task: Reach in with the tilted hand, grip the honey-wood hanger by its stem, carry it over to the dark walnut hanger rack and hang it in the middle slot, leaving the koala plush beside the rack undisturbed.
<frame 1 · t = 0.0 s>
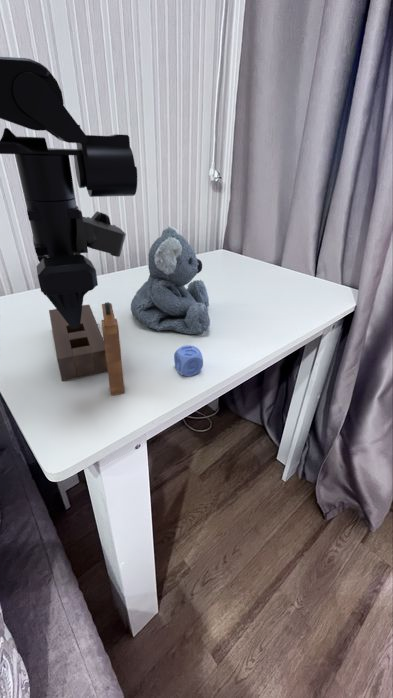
hand: (71, 313, 48), 13 cm above the table, tool pointing down, fingers open, 9 cm apart
rack: (79, 348, 64), on the table
hanger: (117, 390, 54), on the table
decorative dice: (188, 370, 60), on the table
koala plush: (170, 318, 76), on the table
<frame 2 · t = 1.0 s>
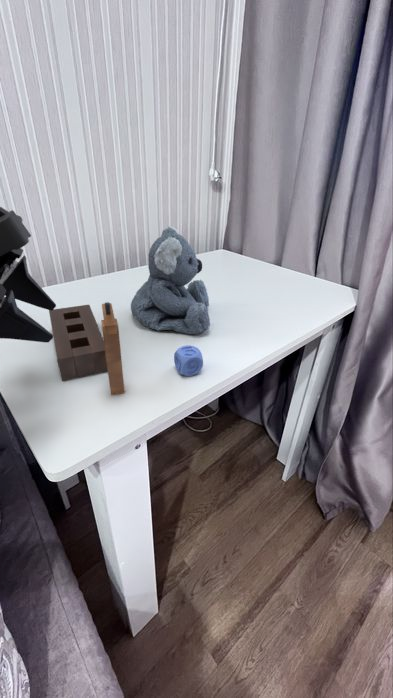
hand: (52, 322, 45), 13 cm above the table, tool tilted 45°, fingers open, 9 cm apart
nothing on the table moved.
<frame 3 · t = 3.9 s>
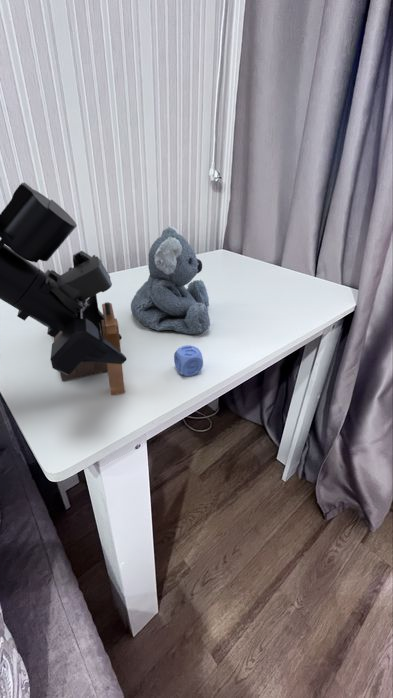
hand: (122, 349, 50), 8 cm above the table, tool tilted 45°, fingers closed on hanger, 6 cm apart
hanger: (117, 389, 54), on the table, touching gripper
everything else where it was.
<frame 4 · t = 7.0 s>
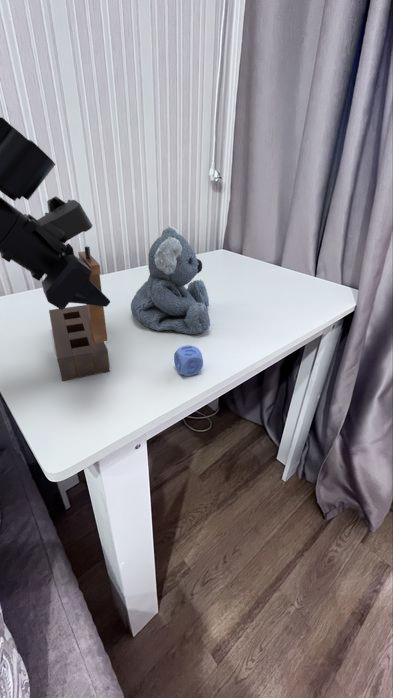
hand: (102, 296, 52), 13 cm above the table, tool tilted 45°, fingers closed on hanger, 6 cm apart
hanger: (99, 339, 56), point 6 cm above the table, touching gripper
everything else where it was.
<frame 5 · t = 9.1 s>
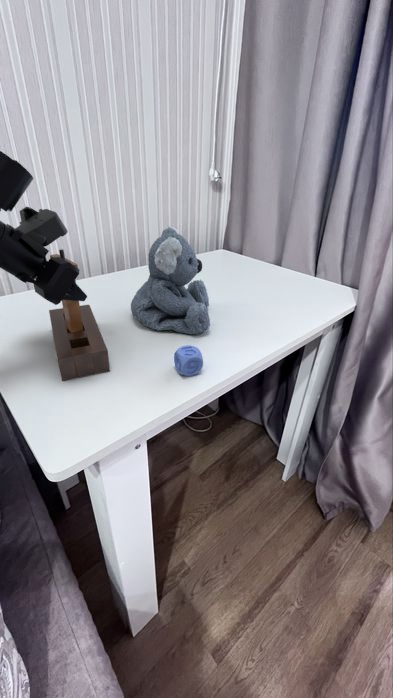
hand: (76, 293, 59), 11 cm above the table, tool tilted 45°, fingers closed on hanger, 6 cm apart
hanger: (75, 332, 62), point 4 cm above the table, touching gripper
everything else where it was.
when the fingers open (8 cm above the table, at t = 10.6 s): hanger stays where it is, resting on rack.
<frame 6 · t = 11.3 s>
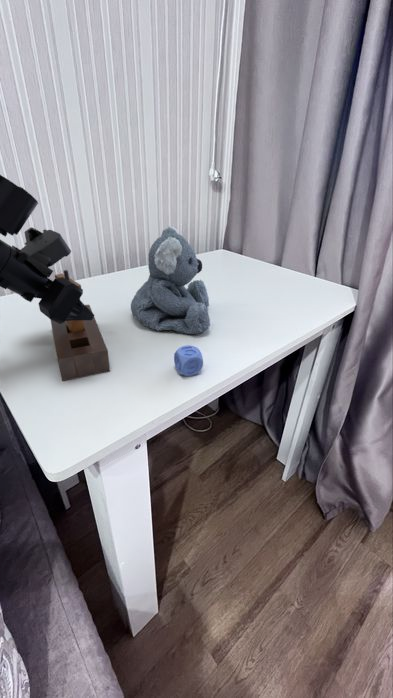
hand: (79, 308, 61), 8 cm above the table, tool tilted 45°, fingers open, 9 cm apart
hanger: (79, 348, 64), resting on rack
everything else where it was.
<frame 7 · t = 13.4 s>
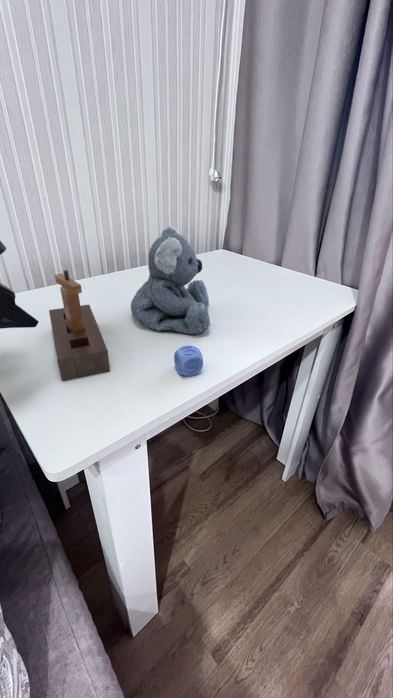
hand: (24, 313, 54), 10 cm above the table, tool tilted 45°, fingers open, 9 cm apart
nothing on the table moved.
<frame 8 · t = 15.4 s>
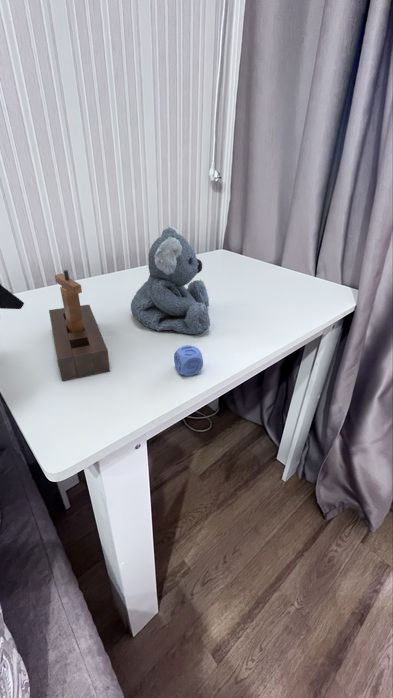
hand: (10, 296, 51), 14 cm above the table, tool tilted 45°, fingers open, 9 cm apart
nothing on the table moved.
at the end: hanger 0.1 cm off-centre in the rack, point 0.0 cm above the rack's base; hanger tilted 0°; koala plush moved 0.2 cm from its start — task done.
